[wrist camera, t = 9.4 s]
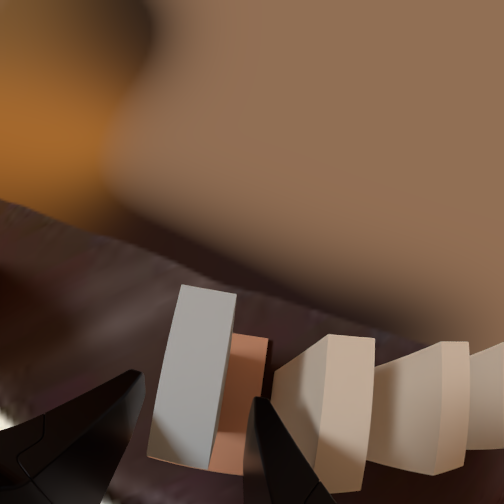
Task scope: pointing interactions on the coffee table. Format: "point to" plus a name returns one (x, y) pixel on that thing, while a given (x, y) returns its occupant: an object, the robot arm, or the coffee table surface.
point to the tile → (237, 402)
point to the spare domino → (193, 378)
